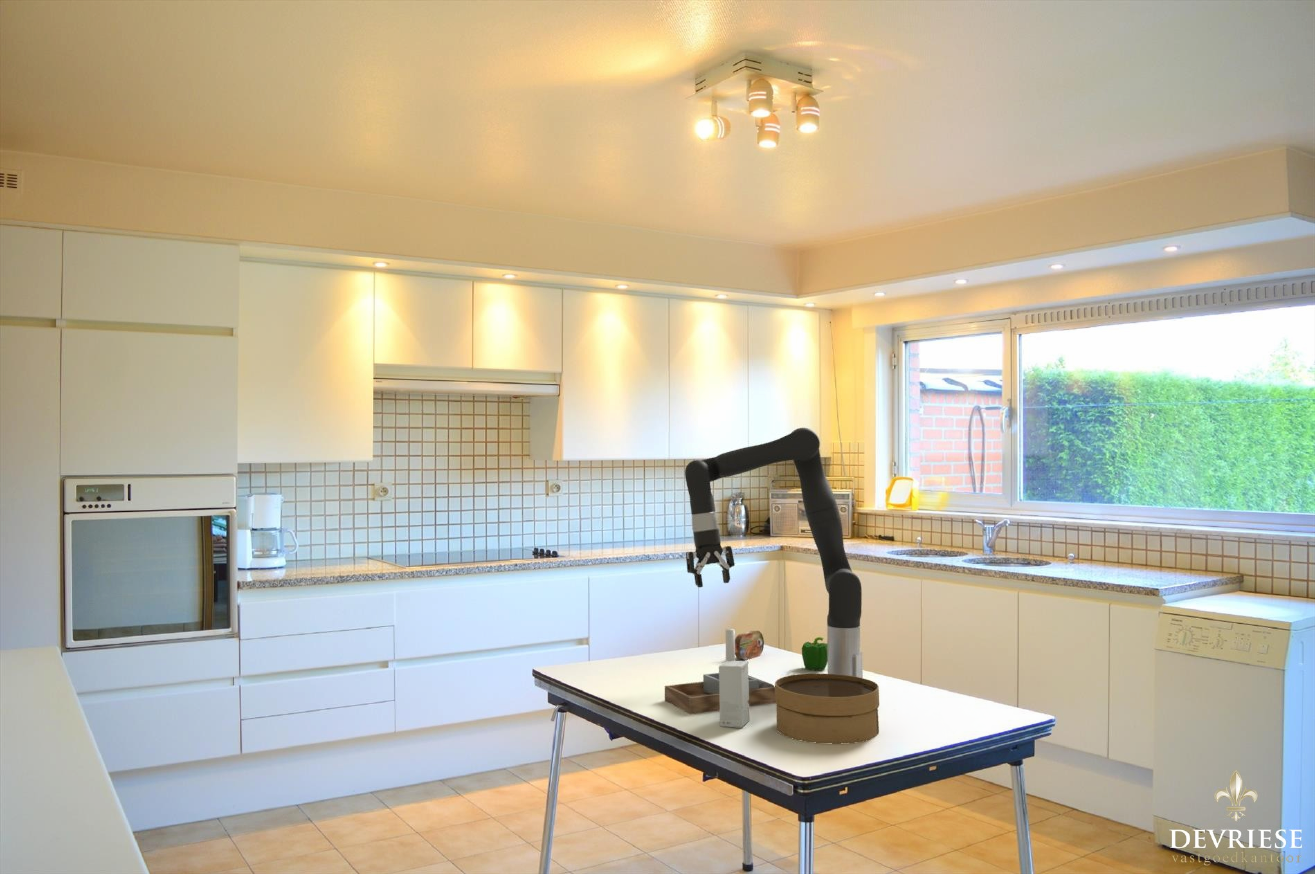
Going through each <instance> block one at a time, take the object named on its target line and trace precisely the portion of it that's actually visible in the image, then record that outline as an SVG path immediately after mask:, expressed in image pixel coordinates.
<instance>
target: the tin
mask: <svg viewBox="0 0 1315 874" xmlns="http://www.w3.org/2000/svg"><path fill="white" fill-rule="evenodd" d="M764 644H765V641H764V635H763V634H762V632H761V631H760V630H750V631H747V632H743V633H740V634H738V635H736V636H735V658H737V659H738V660H739V661H749V660H751V659H754V658H758V657H760V656H761V655H762V653H763V652H764V647H765V645H764ZM748 659H749V660H748Z"/></svg>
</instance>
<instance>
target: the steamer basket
mask: <svg viewBox="0 0 1315 874" xmlns="http://www.w3.org/2000/svg"><path fill="white" fill-rule="evenodd" d="M774 687H775V702H776V703H775V704H776V730H777V732H778V731H779V732H778V733H779V734H780V733H781V734H780V735H782V736H784V737H786V736H787V738H789V739H792V738H793V739H792V740H795V739H796V741H799V740H802V741H801V742H804V741H806V742H805V743H810V742H816V743H815V744H819V743H832V744H831V745H842V744H841V743H850V744H856V743H855V742H858V743H863V741H864V742H866V740H867V741H869V740H873V739H874V738H875V737H877V736H878V735H879V732H880V727H879V726H880V725H879V724H880V723H879V722H880V721H879V706H880V689H879V688H880V687H879V685H878V684H877V683H876V682H875V681H872V680H870V679H867V678H864V677H863V678H859V677H854V676H847V675H839V674H828V673H817V672H816V673H814V672H813V673H800V674H797V673H796V674H791V675H786V676H783V677H780V678H778V679H777V680H775V682H774Z"/></svg>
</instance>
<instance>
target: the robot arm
mask: <svg viewBox="0 0 1315 874" xmlns="http://www.w3.org/2000/svg"><path fill="white" fill-rule="evenodd" d="M820 442H821V441H820V437H819V436H818V434H817V433H816V431H814V430H812V429H811V428H808V427H798V428H796V429H794V430H793V431H792V432H791V433H789V434H786V435H784V436H782V437H780V438H777V439H773V440H772V441H769V442H765V443H761V444H755V445H751V446H746V447H742V448H737V449H734V450H730V451H726V452H723V453H721V454H718V455H716V456H714V457H709V458H706V459H702V460H699V459H698V460H697V459H695V460H692V461H690V462H689V463H688V464H687V465H686V467H685V470H684V476H685V483H686V487H687V490H688V491H687V492H688V495H689V505H690V511H691V512H690V513H691V528H692V534H693V541H694V547H695V551H686V552H685V558H686V560H685V561H686V571H687V573H688V574H692V575H694V583H695V586H697V588H703V587H704V585H703V577H702V570H703V569H704V567H705V566H708V565H711V564H712V565H713V564H717V565H719V567H720V568H721V569H722V570H721V572H722V574H721V575H722V580H723V584H729V583H730V581H731V576H730V575H731V574H730V568H732V567H735V565H736V563H735V559H734V554H733V548H732V546H731V545H726V546H725V545H724V546H723V547H722V545H721V544H722V543H721V533H720V528H719V520H718V516H717V513H716V506H715V499H714V495H713V493H712V489H711V487H712V485H711V482H714V481H717V480H720V479H723V478H729V477H733V476H737V475H740V474H743V473H746V472H747V473H748V472H751V471H754V470H756V469H759V468H762V467H765V466H768V465H773V464H777V463H780V462H788V461H793V463H794V465H795V469H796V471H797V475H798V478H799V482H800V489H801V496H802V497H801V498H802V501H803V503H802V504H803V507H804V512H805V515H806V518H807V521H808V526H809V530H810V532H811V536H812V538H813V541H814V543H815V545H816V549H817V551H818V553H819V557H820V561H821V567H822V571H823V578H824V579H823V581H824V585H825V586H824V587H825V589H826V592H827V593H828V614H827V617H826V620H827V621H826V623H827V624H826V625H827V626H826V629H827V631H826V632H827V633H826V636H827V638H826V639H827V640H826V641H827V643H826V644H827V674H839V675H847V676H854V677H859V678H864V677H863V676H864V675H863V673H864V671H863V669H864V668H863V667H864V666H863V665H864V664H863V660H864V659H863V652H862V651H861V619H862V604H863V603H862V600H863V599H862V598H863V597H862V594H863V593H862V592H863V591H862V583H861V580H860V577H858V575H857V574H856V573H854V572H853V570H852V567H851V565H850V562H849V560H848V557H847V554H846V551H845V544H844V534H843V533H844V532H843V531H844V530H843V524H842V523H843V522H842V519H841V515H840V511H839V507H838V504H837V500H836V497H835V495H834V492H833V490H832V487H831V485H830V483H829V480H828V478H827V477H826V474H825V473H826V472H825V471H824V467H823V462H822V457H821V450H820V445H821V443H820ZM722 554H723V555H724V557H725V559H724V558H723V557H722ZM696 558H697V561H696V562H695V559H696Z"/></svg>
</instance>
